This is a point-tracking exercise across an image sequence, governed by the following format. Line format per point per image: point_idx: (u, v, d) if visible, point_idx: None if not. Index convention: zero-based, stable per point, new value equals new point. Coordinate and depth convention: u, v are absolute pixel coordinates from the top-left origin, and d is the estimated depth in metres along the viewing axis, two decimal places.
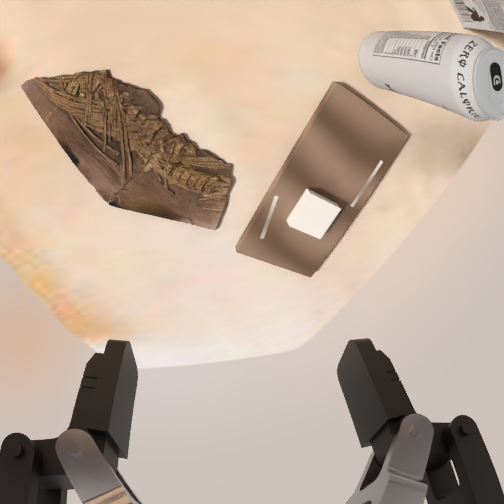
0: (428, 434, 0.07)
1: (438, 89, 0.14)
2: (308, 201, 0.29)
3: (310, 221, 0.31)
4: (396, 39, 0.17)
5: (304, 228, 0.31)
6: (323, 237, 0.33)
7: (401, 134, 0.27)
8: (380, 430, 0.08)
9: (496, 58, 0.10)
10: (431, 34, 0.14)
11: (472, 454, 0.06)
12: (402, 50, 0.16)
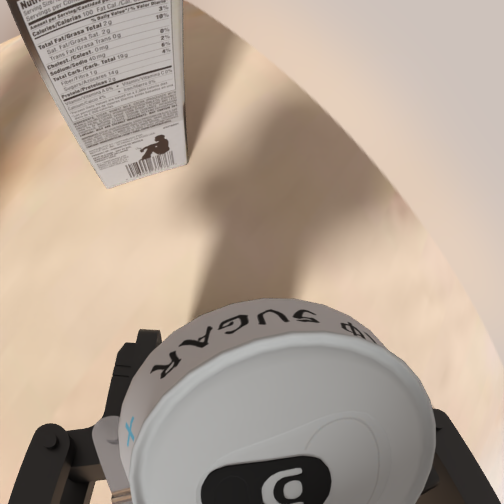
0: None
1: None
2: None
3: None
4: None
5: None
6: None
7: None
8: None
9: (181, 486, 0.03)
10: None
11: (448, 448, 0.06)
12: None
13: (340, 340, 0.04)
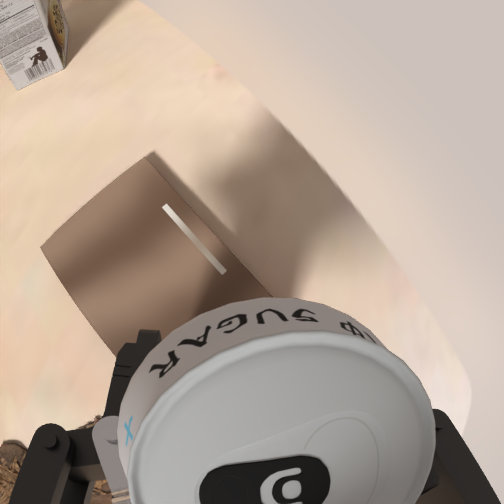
0: None
1: None
2: None
3: None
4: None
5: None
6: None
7: (136, 167, 0.20)
8: None
9: (179, 486, 0.03)
10: None
11: (448, 448, 0.06)
12: None
13: (339, 339, 0.04)
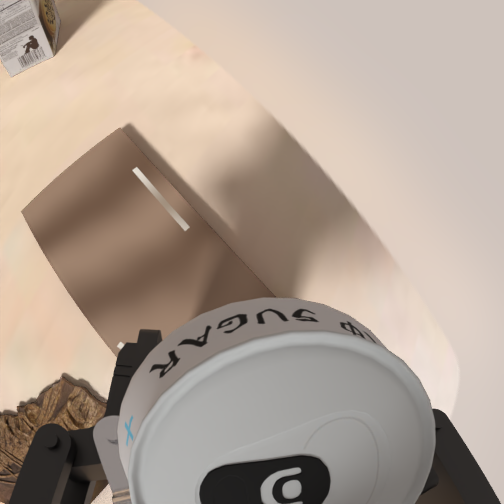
0: None
1: None
2: None
3: None
4: None
5: None
6: (228, 291, 0.19)
7: (112, 136, 0.20)
8: None
9: (180, 485, 0.03)
10: None
11: (447, 448, 0.06)
12: None
13: (339, 339, 0.04)
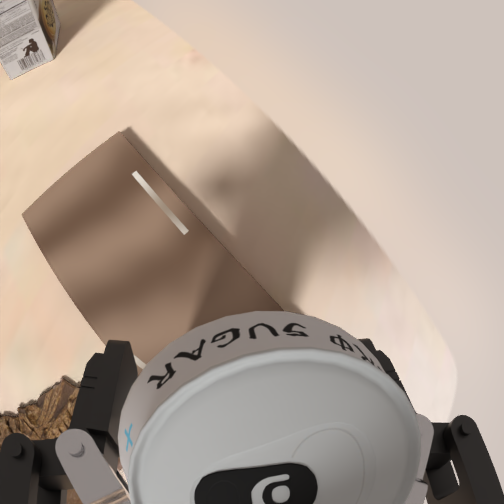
0: (428, 434, 0.07)
1: None
2: None
3: None
4: None
5: None
6: (226, 294, 0.19)
7: (111, 140, 0.20)
8: None
9: (176, 489, 0.03)
10: None
11: (472, 454, 0.06)
12: None
13: (326, 356, 0.04)
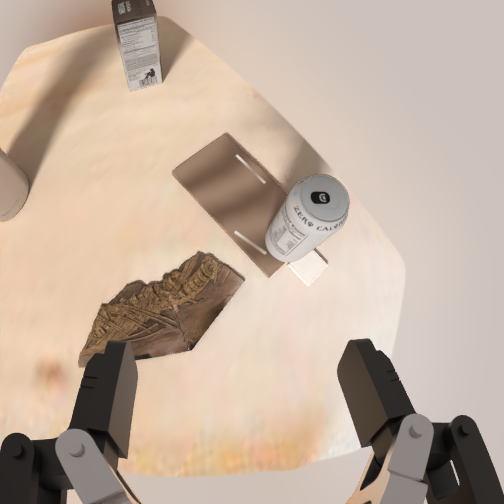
0: (428, 434, 0.07)
1: (324, 238, 0.29)
2: (294, 267, 0.41)
3: (310, 269, 0.41)
4: (279, 241, 0.34)
5: (315, 275, 0.41)
6: None
7: (221, 138, 0.44)
8: (380, 430, 0.08)
9: (307, 194, 0.27)
10: (282, 223, 0.31)
11: (472, 454, 0.06)
12: (290, 244, 0.33)
13: (328, 176, 0.28)
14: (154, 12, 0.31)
